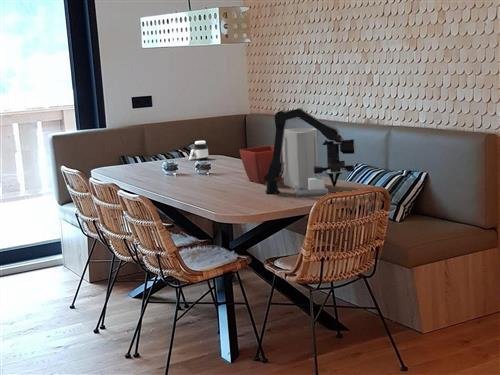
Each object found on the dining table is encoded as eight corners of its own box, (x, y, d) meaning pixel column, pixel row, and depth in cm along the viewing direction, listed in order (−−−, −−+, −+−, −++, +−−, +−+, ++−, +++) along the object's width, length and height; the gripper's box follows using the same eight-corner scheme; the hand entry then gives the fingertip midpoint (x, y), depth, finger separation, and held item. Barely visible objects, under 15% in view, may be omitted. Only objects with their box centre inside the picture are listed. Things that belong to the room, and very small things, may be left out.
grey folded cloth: (294, 192, 371) (294, 184, 370) (325, 190, 371) (325, 182, 370) (296, 196, 361) (296, 188, 360) (328, 194, 361) (328, 186, 361)
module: (308, 190, 368) (308, 176, 367) (323, 189, 368) (322, 176, 367) (309, 192, 363) (309, 178, 362) (324, 191, 364) (324, 177, 362)
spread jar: (210, 159, 492) (209, 141, 490) (194, 161, 487) (193, 143, 484) (201, 157, 502) (200, 140, 500) (186, 159, 497) (184, 141, 495)
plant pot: (240, 180, 411) (238, 149, 408) (271, 176, 419) (270, 145, 416) (257, 185, 394) (255, 152, 391) (289, 180, 403) (288, 148, 400)
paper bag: (326, 186, 381) (324, 130, 375) (299, 190, 375) (297, 133, 370) (309, 181, 398) (307, 127, 393) (283, 184, 393) (280, 129, 387)
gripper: (315, 157, 355) (316, 191, 358) (355, 155, 355) (356, 188, 358) (312, 154, 366) (313, 186, 369) (351, 152, 366) (352, 184, 369)
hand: (334, 186), depth 366 cm, fingers closed
